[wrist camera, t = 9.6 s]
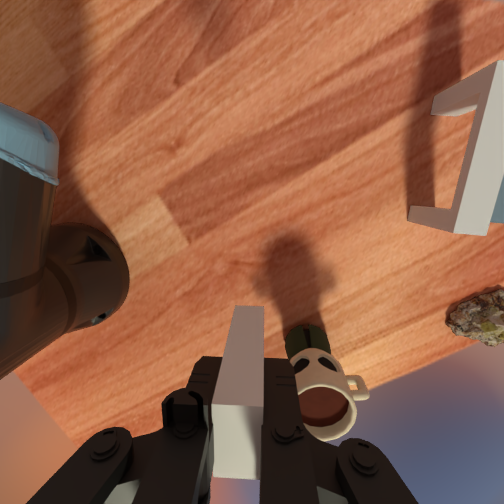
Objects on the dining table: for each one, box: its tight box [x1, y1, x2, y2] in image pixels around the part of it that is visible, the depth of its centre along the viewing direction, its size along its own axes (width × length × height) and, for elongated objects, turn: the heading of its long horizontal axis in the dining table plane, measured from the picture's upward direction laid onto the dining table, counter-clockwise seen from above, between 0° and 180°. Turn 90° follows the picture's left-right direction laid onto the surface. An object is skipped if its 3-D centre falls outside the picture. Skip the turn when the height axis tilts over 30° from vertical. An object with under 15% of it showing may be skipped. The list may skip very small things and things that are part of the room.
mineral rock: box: [446, 289, 504, 347], centre depth 36 cm, size 11×4×8 cm
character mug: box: [285, 325, 369, 441], centre depth 34 cm, size 11×7×13 cm, turn 97°
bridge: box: [407, 60, 504, 236], centre depth 29 cm, size 3×14×9 cm, turn 175°
